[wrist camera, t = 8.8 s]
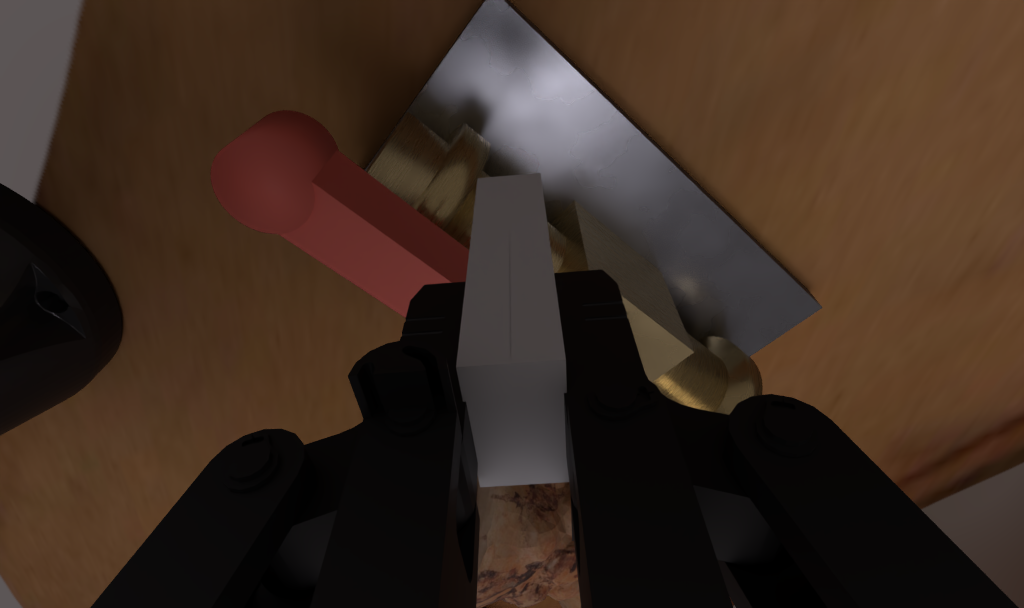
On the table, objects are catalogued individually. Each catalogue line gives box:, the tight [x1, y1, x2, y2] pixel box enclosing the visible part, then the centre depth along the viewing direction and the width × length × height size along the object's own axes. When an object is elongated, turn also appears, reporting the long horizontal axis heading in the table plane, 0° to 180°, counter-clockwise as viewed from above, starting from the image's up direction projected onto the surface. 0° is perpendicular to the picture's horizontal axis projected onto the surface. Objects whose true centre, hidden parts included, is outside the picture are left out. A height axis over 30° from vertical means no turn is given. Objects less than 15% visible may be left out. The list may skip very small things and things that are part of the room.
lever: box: [211, 110, 469, 318], centre depth 17 cm, size 4×16×4 cm, turn 48°
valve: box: [364, 0, 822, 415], centre depth 24 cm, size 22×14×8 cm, turn 50°
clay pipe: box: [476, 474, 581, 608], centre depth 35 cm, size 19×11×15 cm
